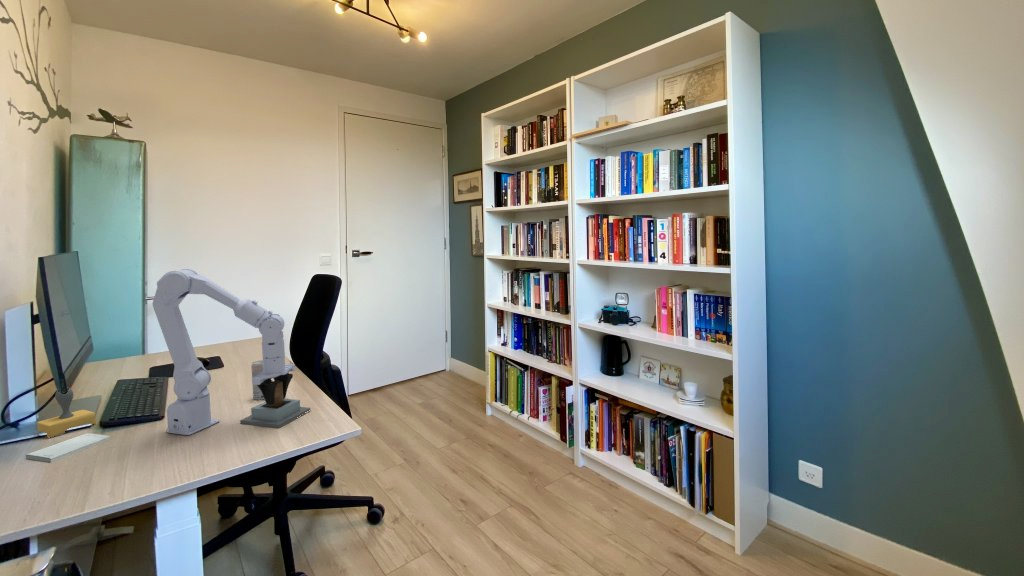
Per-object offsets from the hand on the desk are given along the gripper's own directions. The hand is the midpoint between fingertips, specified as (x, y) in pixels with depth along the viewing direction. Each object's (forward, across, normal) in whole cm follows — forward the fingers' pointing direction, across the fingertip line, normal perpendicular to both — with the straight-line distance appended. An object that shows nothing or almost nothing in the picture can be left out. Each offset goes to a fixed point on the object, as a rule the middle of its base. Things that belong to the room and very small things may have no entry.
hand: (275, 401), depth 129 cm
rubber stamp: (+5, -21, +49) cm, 54 cm away
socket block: (+5, 0, 0) cm, 5 cm away
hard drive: (+6, -29, +35) cm, 46 cm away
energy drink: (+5, +13, +17) cm, 22 cm away
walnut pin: (+2, 0, 0) cm, 2 cm away
